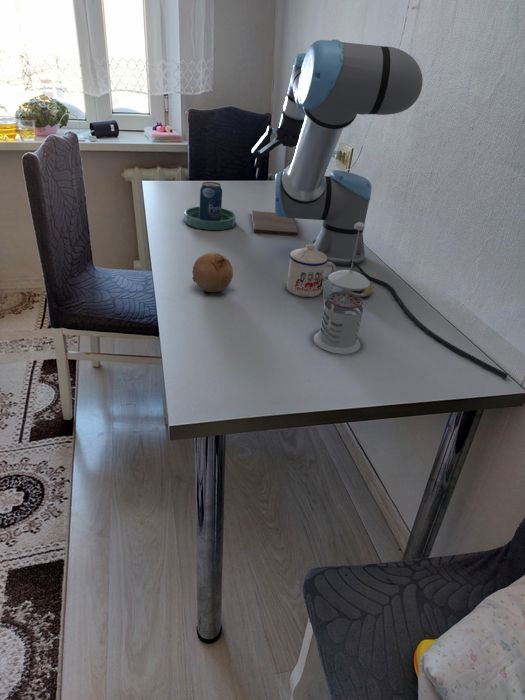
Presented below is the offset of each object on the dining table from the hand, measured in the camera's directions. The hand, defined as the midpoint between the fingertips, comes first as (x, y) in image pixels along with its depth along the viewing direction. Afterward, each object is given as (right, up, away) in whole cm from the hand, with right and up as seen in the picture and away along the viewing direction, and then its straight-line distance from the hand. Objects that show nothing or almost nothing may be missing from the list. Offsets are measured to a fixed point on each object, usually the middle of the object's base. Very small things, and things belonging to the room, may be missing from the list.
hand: (277, 181), depth 160 cm
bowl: (-22, -13, +2) cm, 26 cm away
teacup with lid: (+7, -39, -36) cm, 54 cm away
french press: (+10, -52, -56) cm, 77 cm away
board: (-1, -12, +7) cm, 14 cm away
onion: (-17, -40, -41) cm, 60 cm away
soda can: (-22, -13, +2) cm, 25 cm away
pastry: (+19, -38, -35) cm, 55 cm away
